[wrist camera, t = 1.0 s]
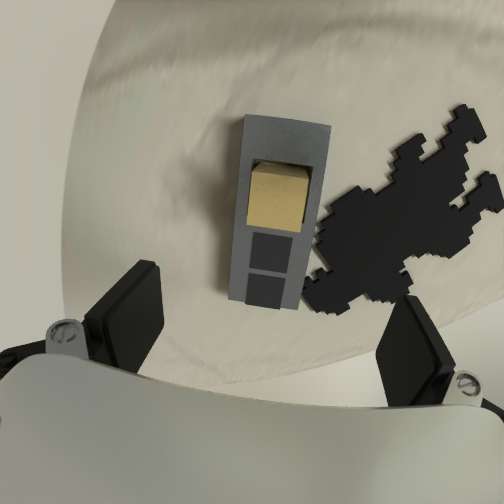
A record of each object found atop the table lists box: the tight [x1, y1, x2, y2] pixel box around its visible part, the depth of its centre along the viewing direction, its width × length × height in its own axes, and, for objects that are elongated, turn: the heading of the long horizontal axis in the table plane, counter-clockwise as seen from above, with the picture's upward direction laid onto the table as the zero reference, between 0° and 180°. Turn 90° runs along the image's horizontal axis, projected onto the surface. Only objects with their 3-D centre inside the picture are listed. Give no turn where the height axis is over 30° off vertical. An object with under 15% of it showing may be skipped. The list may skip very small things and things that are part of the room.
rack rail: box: [228, 114, 331, 310], centre depth 29 cm, size 20×8×3 cm, turn 174°
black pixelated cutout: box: [301, 104, 504, 316], centre depth 29 cm, size 16×1×30 cm
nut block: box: [246, 162, 309, 233], centre depth 26 cm, size 4×4×7 cm
